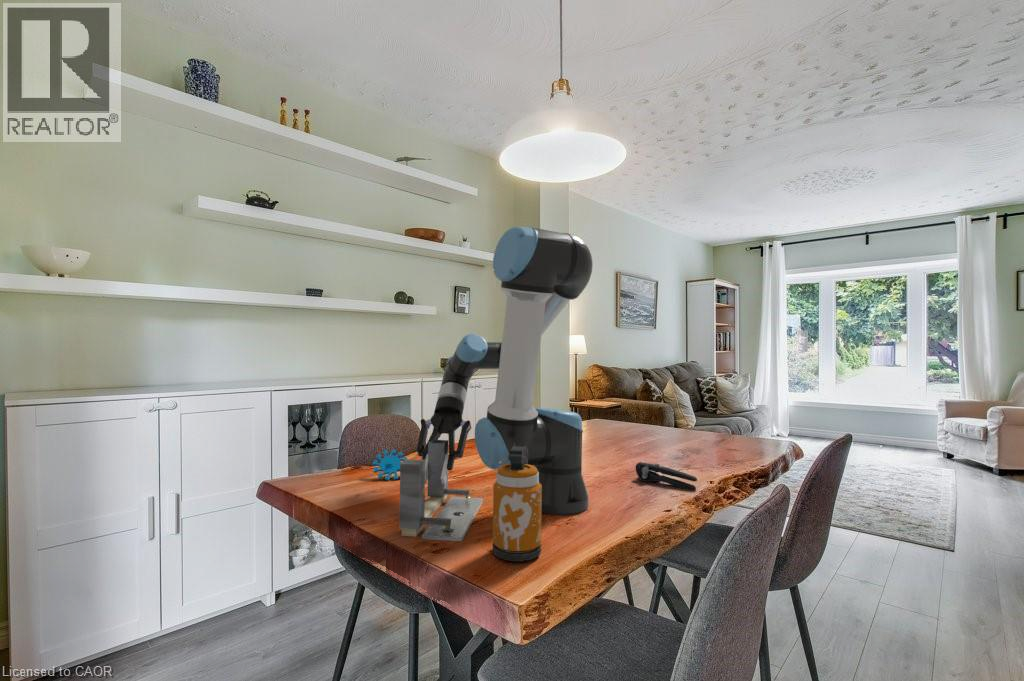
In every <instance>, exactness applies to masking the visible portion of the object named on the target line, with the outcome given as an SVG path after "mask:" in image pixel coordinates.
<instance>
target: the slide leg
mask: <svg viewBox="0 0 1024 681" xmlns="http://www.w3.org/2000/svg"><path fill="white" fill-rule="evenodd" d="M446 454H447V455H449V439H447V440H446V439H438V440H432V441H430V442H429V443H428V478H427V497H428V498H430V497H444V496H445V495H446V494H447V495H451V496H452V495H454V496H455V495H456V496H457V495H458V496H465V497H466V498H470V497H471V496H470V495H471V489H465V488H464V489H460V488H448V486H449V484H448V483H449V474H448V475H447V480H446V484H442V481H441V474H442V469H443V465H444V460H445V455H446Z"/></svg>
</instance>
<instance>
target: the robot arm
mask: <svg viewBox="0 0 1024 681" xmlns="http://www.w3.org/2000/svg"><path fill="white" fill-rule="evenodd" d="M492 258H493V259H492V268H493V269H494V270H493V273H494V276H495V277H496V279H498V280H499V281H501V284H500V285H501V286H500V290H502V292H503V293H504V295H505V296H506V302H505V310H504V318H503V319H504V320H503V329H502V336H501V342H500V341H499V342H498V341H497V342H495V341H492V342H491V341H487V340H486V339H485V338H484V337H483V336H481V335H477V334H476V333H469V334H466V335H465V336H463V337H462V339H461V340H460V342H459V343H458V344H457V345H456V349H455V351H454V354H453V355H452V356H450V357H449V358H448V359H447V361H446V364H445V366H444V368H443V369H444V371H443V376H442V380H441V383H440V384H441V385H440V387H439V388H440V389H439V392H438V396H437V400H436V404H435V408H434V412H433V414H432V416H431V417H430V419H424V418H422V419H420V425H421V427H420V432H419V436H418V442H417V445H416V452H417V455H418V457H421V460H425V484H428V443H429V442H430V441H432V440H439V438H441V436H442V434H443V435H444V434H447V435H448V455H447V454H446V455H445V460H444V465H443V469H442V474H441V481H442V484H446V480H447V475H448V476H449V471H452V470H454V469H453V468H454V463H455V460H456V459H457V458H458V459H461V458H463V456H464V452H465V448H466V443H467V439H468V434H469V432H470V431H471V429H472V424H471V421H470V420H469V419H468V420H464V419H463V415H464V408H465V402H466V400H467V393H468V389H469V383H470V381H471V378H472V377H473V375H474V374H475V373H476V371H477V370H497V371H498V372H497V382H496V389H495V400H494V401H493V402H492V403H491V404H490V405H488V406H487V410H486V417H481V418H479V420H478V421H477V422H476V423H475V428H474V441H475V447H476V451H477V452H478V455H479V456H478V457H479V458H480V460H481V462H482V463H483V464H484V466H485V467H487V468H488V469H490V470H493V471H495V470H496V471H498V468H499V467H500V466H502V465H505V464H511V463H510V460H509V461H507V462H505V463H502V464H499V462H500V461H502V460H504V459H506V458H508V455H509V454H510V449H512V448H513V446H514V443H515V445H516V446H519V447H525V443H526V445H527V449H528V465H532V466H534V467H536V468H537V470H538V472H539V483H540V484H541V485H542V503H541V514H542V513H543V514H548V515H573V514H574V515H576V514H580V513H582V512H584V511H586V510H588V509H589V503H590V502H589V500H590V499H589V497H590V496H589V493H588V490H587V487H586V482H585V481H584V476H583V473H582V472H583V470H582V467H583V466H582V465H583V464H582V463H583V462H582V460H583V457H582V456H583V452H582V451H583V432H584V430H583V420H582V417H581V415H580V414H579V413H578V412H574V411H570V410H563V409H556V408H550V407H549V408H548V407H535V406H534V397H535V389H536V381H537V372H538V364H539V357H540V356H539V355H540V349H541V341H542V335H544V333H545V331H546V330H548V327H550V326H551V324H552V323H553V322H554V320H555V319H557V317H558V315H560V313H561V312H562V311H563V309H564V308H565V307H566V306H567V304H569V302H570V301H574V300H575V299H577V298H579V296H580V295H581V294H582V293H583V291H584V290H585V289H586V288H587V286H588V284H589V282H590V279H591V276H592V272H593V258H592V253H591V251H590V249H589V247H588V245H587V244H586V243H585V242H584V241H583V240H582V239H581V238H580V237H578V236H577V235H574V234H572V233H568V232H567V233H566V232H559V231H553V230H548V229H542V228H536V227H531V226H514V227H510V228H509V229H507V230H506V231H505V232H504V233H503V234H502V236H501V237H500V238H499V240H498V242H497V244H496V247H495V250H494V253H493V257H492ZM431 425H432V427H433V429H432V433H431V434H430V436H429V438H428V440H427V437H428V433H429V431H428V430H429V429H430V427H431ZM460 427H461V430H460V434H459V439H458V443H457V446H456V443H455V442H456V441H455V439H456V438H455V437H456V436H455V435H456V434H455V433H456V432H455V431H457V430H458V429H459V428H460ZM526 457H527V454H526ZM507 460H508V459H507ZM505 461H506V460H505ZM503 462H504V461H503ZM525 464H526V463H525Z"/></svg>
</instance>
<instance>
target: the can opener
mask: <svg viewBox="0 0 1024 681" xmlns="http://www.w3.org/2000/svg"><path fill="white" fill-rule="evenodd" d="M635 472H636V475H637V477H638V479H640V480H641V481H642V482H644V483H652V482H662V483H666V484H669V485H671V486H674V487H675V488H680V489H685V490H690V491H695V490H697V487H696V486H695V485H693V484H691V483H688V482H686V481H691V482H694V483H695V482H697V481H698V479H697V477H696V476H694V475H691V474H688V473H685V472H683V471H680V470H676V469H673V468H670V467H667V466H663V465H661V466H660V463H648V462H642V461H641V462H640V461H638V462H637V463H636V464H635ZM659 473H661V474H662V475H661V474H659ZM665 475H666V476H665ZM672 477H675V478H672ZM676 478H679V479H682V480H686V481H682V480H679V479H676Z"/></svg>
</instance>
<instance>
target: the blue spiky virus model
mask: <svg viewBox="0 0 1024 681" xmlns="http://www.w3.org/2000/svg"><path fill="white" fill-rule="evenodd" d="M382 453H383V456H384V457H383V458H382V454H381V453H379V454H376V459H375V460H373V462H372V465H373V466H374V467H373V473H375V474H376V473H377V477H378V479H382V478H383V476H385V475H386V476H385V477H384V480H385V481H387V480H389V481H390V480H391V477H392V475H393V474H394V475H393V480H395V479H397V480H398V479H399V475H398V472H399V473H400V463H402V462H403V461H405V460H406V459H408V457H407V456H404V453H403V452H402V451H399V452H398V453H397V450H396V449H393V448H392V449H391V451H390V453H389V451H388V450H387V449H385V450H383V452H382ZM396 453H397V454H396ZM388 454H389V455H388ZM403 456H404V457H403ZM378 461H379V462H378ZM376 466H377V467H376ZM378 472H379V473H378ZM395 481H396V480H395Z"/></svg>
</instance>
